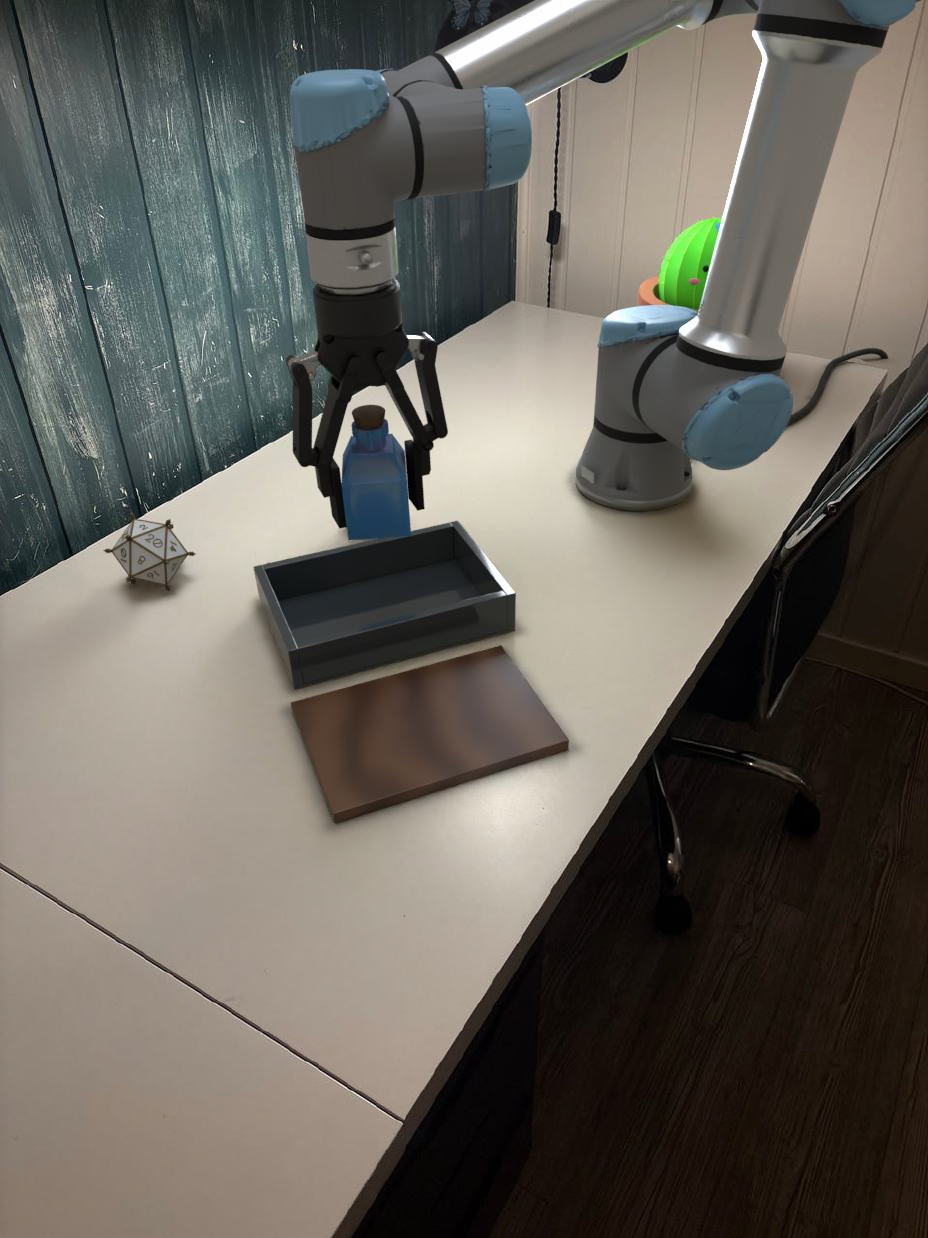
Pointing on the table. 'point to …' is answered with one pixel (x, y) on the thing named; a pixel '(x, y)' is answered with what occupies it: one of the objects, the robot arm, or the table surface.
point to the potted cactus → (683, 268)
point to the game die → (149, 552)
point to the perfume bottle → (374, 479)
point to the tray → (382, 602)
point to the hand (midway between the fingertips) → (378, 512)
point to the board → (423, 731)
